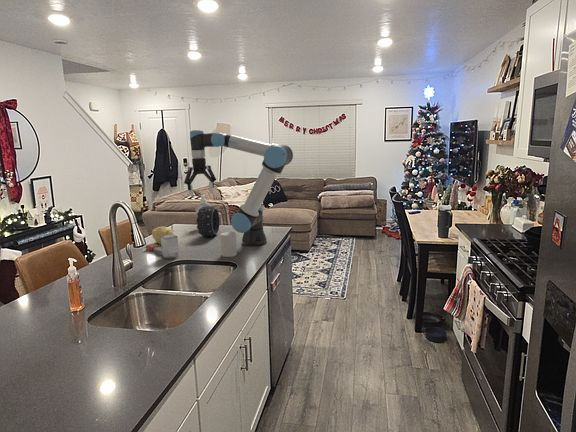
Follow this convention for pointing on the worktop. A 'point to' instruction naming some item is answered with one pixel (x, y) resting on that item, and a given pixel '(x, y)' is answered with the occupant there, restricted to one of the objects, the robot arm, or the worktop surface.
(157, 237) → the sculpture
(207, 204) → the soap bottle
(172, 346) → the worktop surface
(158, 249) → the ratchet
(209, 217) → the ring
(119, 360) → the worktop surface
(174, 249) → the frosted translucent cube
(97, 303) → the worktop surface
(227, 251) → the cup
